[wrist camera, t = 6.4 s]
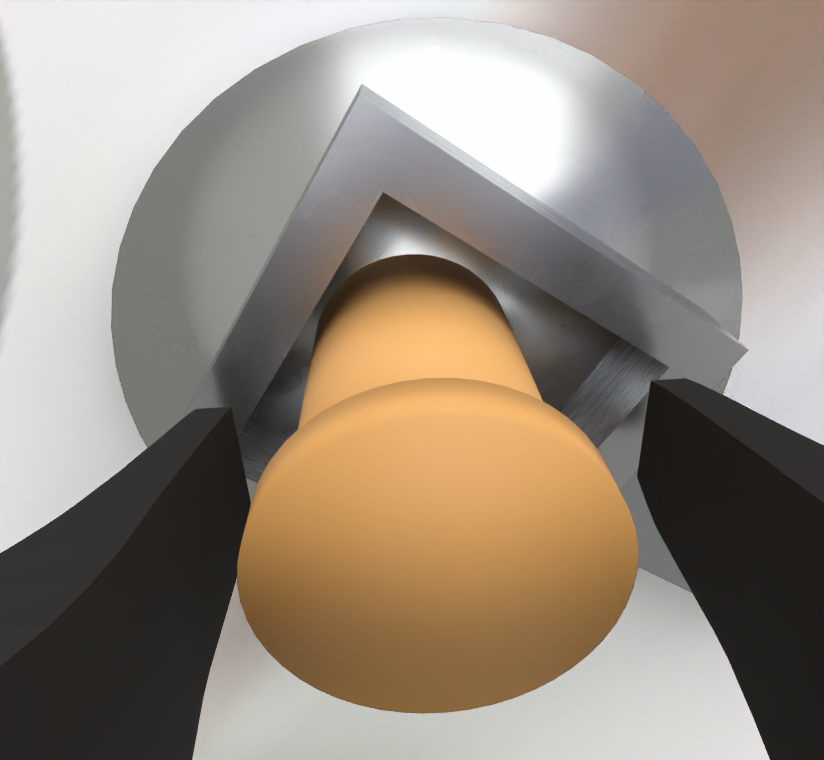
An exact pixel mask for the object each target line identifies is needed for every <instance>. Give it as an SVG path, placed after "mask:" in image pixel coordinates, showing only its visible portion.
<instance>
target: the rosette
mask: <svg viewBox="0 0 824 760" xmlns="http://www.w3.org/2000/svg"><path fill="white" fill-rule="evenodd" d="M405 254H423V255H431V256H436V257H440V258H444V259H448V260H450V261H453V262H455V263H458V264H460V265H461V266H463V267H465V268H467V269H469V270H470V271H472V272H473V273H474V274H476V275H477V276H478V277H480V278H481V279H482V280H483V281H484V282H485V283H486V284H487V285H488V286H489V288H490V289H491V290H492V292H493V293H494V294H495V296H496V297H497V299H498V301H499V303H500V305H501V306H502V309H503V311H504V313H505V315H506V318H507V320H508V322H509V325H510V327H511V329H512V331H513V334H514V336H515V338H516V341H517V343H518V345H519V347H520V350H521V352H522V354H523V357H524V359H525V361H526V363H527V366H528V368H529V370H530V372H531V375H532V377H533V379H534V382H535V384H536V386H537V388H538V391H539V393H540V395H541V398H542V400H543V402H545V403H547V404H548V405H550V406H552V407H553V408H555V409H556V410H558V411H559V412H561V413H562V414H563V415H565V416H566V417H568V418H569V419H570V420H571V421H572V422H573V423H575V424H576V425H577V426H578V427H579V428H580V429H581V430H582V431H583V432H584V433H585V434H586V435H587V436H588V438H589V439H590V440H591V442H592V443H593V444H594V446H595V447H596V448H597V449H598V451H599V453H600V454H601V456H602V458H603V460H604V462H605V464H606V466H607V468H608V469H609V471H610V473H611V475H612V477H613V479H614V481H615V483H616V485H617V487H618V489H619V491H620V493H621V495H622V497H623V498H624V500H625V502H626V504H627V506H628V508H629V510H630V513H631V516H632V519H633V522H634V526H635V529H636V535H637V542H638V567H640V568H642V569H644V570H646V571H648V572H651V573H653V574H655V575H657V576H659V577H661V578H663V579H665V580H667V581H669V582H671V583H673V584H675V585H677V586H679V587H681V588H683V589H685V590H687V591H689V592H692V591H691V589H690V588H689V586H688V584H687V582H686V580H685V579H684V577H683V575H682V573H681V572H680V570H679V568H678V566H677V564H676V563H675V561H674V559H673V557H672V555H671V554H670V552H669V550H668V548H667V546H666V545H665V543H664V541H663V539H662V537H661V535H660V533H659V532H658V530H657V528H656V526H655V524H654V521H653V519H652V516H651V514H650V511H649V509H648V506H647V504H646V501H645V498H644V495H643V493H642V490H641V487H640V484H639V481H638V479H637V473H638V466H639V459H640V452H641V445H642V438H643V431H644V423H645V416H646V409H647V402H648V395H649V388H650V381H651V380H665V379H681V378H687V379H689V380H692V381H694V382H697V383H699V384H701V385H704V386H706V387H708V388H710V389H712V390H714V391H716V392H718V393H720V394H722V395H723V393H724V390H725V387H726V385H727V382H728V379H729V376H730V374H731V371H732V367H733V366H734V365H735V364H736V363H737V362H738V361H739V360H740V359H741V357H742V356H743V355H744V354H745V353H746V352H747V351H748V349H747V348H746V347H745V346H744V345H743V344H741V343H740V342H739V341H738V339H739V334H740V322H741V309H742V284H741V269H740V258H739V253H738V249H737V244H736V239H735V235H734V230H733V226H732V221H731V218H730V216H729V213H728V211H727V208H726V205H725V203H724V200H723V198H722V195H721V193H720V190H719V187H718V185H717V182H716V181H715V179H714V177H713V176H712V174H711V172H710V170H709V169H708V167H707V165H706V163H705V162H704V160H703V158H702V157H701V155H700V153H699V151H698V150H697V148H696V146H695V145H694V144H693V143H692V141H691V140H690V139H689V138H688V136H687V135H686V134H685V133H684V132H683V130H682V129H681V128H680V127H679V125H678V124H677V123H676V122H675V120H674V119H673V118H672V117H671V116H670V114H669V113H668V112H667V111H666V110H665V109H664V108H662V107H661V106H660V105H659V104H658V103H657V102H656V101H655V100H654V99H652V98H651V97H650V96H649V95H648V94H647V93H646V92H645V91H643V90H642V89H641V88H640V87H639V86H638V85H637V84H636V83H634V82H633V81H632V80H630V79H628V78H627V77H625V76H624V75H622V74H621V73H619V72H618V71H616V70H615V69H613V68H611V67H610V66H608V65H607V64H605V63H604V62H602V61H601V60H599V59H597V58H596V57H594V56H592V55H590V54H588V53H585V52H583V51H581V50H579V49H576V48H574V47H572V46H570V45H567V44H565V43H563V42H561V41H558V40H556V39H554V38H552V37H549V36H545V35H542V34H538V33H534V32H530V31H527V30H523V29H519V28H516V27H512V26H508V25H505V24H500V23H491V22H482V21H474V20H465V19H456V18H425V19H397V20H392V21H387V22H381V23H376V24H371V25H365V26H360V27H354V28H350V29H347V30H344V31H341V32H338V33H335V34H332V35H329V36H327V37H324V38H321V39H318V40H315V41H312V42H309V43H306V44H304V45H301V46H299V47H297V48H295V49H293V50H291V51H289V52H287V53H285V54H283V55H282V56H280V57H278V58H276V59H274V60H272V61H270V62H268V63H266V64H264V65H262V66H260V67H259V68H257V69H255V70H253V71H252V72H251V73H249V74H248V75H247V76H245V77H244V78H242V79H241V80H240V81H238V82H237V83H236V84H234V85H233V86H232V87H230V88H229V89H227V90H226V91H225V92H223V93H222V94H221V95H219V96H218V97H216V98H215V99H214V100H213V101H212V102H211V103H210V104H209V105H208V106H207V107H206V108H205V109H204V110H203V111H202V112H201V113H200V114H199V115H198V116H197V117H196V118H195V119H194V120H193V121H192V122H191V123H190V124H189V125H188V126H187V127H186V128H185V129H184V130H183V131H182V132H181V133H180V135H179V136H178V137H177V139H176V140H175V141H174V143H173V144H172V145H171V147H170V148H169V149H168V151H167V152H166V153H165V155H164V156H163V157H162V159H161V160H160V161H159V163H158V164H157V166H156V167H155V168H154V170H153V172H152V174H151V176H150V177H149V179H148V181H147V183H146V185H145V187H144V189H143V191H142V193H141V195H140V196H139V198H138V200H137V202H136V204H135V206H134V208H133V211H132V214H131V217H130V219H129V222H128V225H127V228H126V231H125V234H124V237H123V240H122V243H121V246H120V249H119V254H118V260H117V265H116V271H115V277H114V282H113V288H112V320H111V329H112V338H113V346H114V354H115V362H116V368H117V371H118V375H119V379H120V382H121V386H122V390H123V393H124V397H125V401H126V403H127V406H128V408H129V410H130V413H131V415H132V417H133V420H134V422H135V424H136V427H137V429H138V431H139V434H140V436H141V437H142V439H143V441H144V442H145V444H146V446H147V447H150V446H151V445H152V444H153V443H154V442H155V441H157V440H158V439H159V438H160V437H161V436H163V435H164V434H165V433H166V432H167V431H168V430H170V429H171V428H172V427H173V426H174V425H176V424H177V423H178V422H179V421H180V420H182V419H183V418H184V417H185V416H187V415H188V414H189V413H191V412H192V411H193V410H195V409H202V408H218V407H232V412H233V417H234V422H235V427H236V432H237V437H238V441H239V446H240V451H241V456H242V461H243V466H244V471H245V476H246V481H247V486H248V491H249V496H250V501H251V502H252V498H253V495H254V493H255V490H256V487H257V485H258V482H259V480H260V477H261V476H262V474H263V472H264V470H265V469H266V467H267V465H268V463H269V462H270V460H271V459H272V457H273V456H274V455H275V454H276V452H277V451H278V450H279V449H280V447H281V446H282V445H283V444H284V442H285V441H286V440H287V439H288V438H289V437H291V436H292V435H293V434H294V433H295V432H296V431H297V430H298V426H299V421H300V415H301V410H302V405H303V399H304V394H305V389H306V383H307V378H308V373H309V367H310V362H311V357H312V351H313V346H314V341H315V335H316V330H317V326H318V321H319V318H320V316H321V313H322V310H323V308H324V306H325V305H326V303H327V301H328V299H329V298H330V296H331V295H332V294H333V292H334V291H335V290H336V288H337V287H338V286H339V285H340V284H341V283H342V282H343V281H344V280H345V279H347V278H348V277H349V276H351V275H352V274H353V273H354V272H356V271H358V270H359V269H361V268H363V267H364V266H366V265H368V264H371V263H373V262H375V261H378V260H380V259H384V258H388V257H392V256H398V255H405ZM250 506H251V504H250Z"/></svg>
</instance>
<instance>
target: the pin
mask: <svg viewBox="0 0 824 760" xmlns="http://www.w3.org/2000/svg"><path fill="white" fill-rule="evenodd" d="M637 568H638V542H637V535H636V529H635V526H634V522H633V519H632V516H631V513H630V510H629V508H628V506H627V504H626V502H625V500H624V498H623V497H622V495H621V493H620V491H619V489H618V487H617V485H616V483H615V481H614V479H613V477H612V475H611V473H610V471H609V469H608V468H607V466H606V464H605V462H604V460H603V458H602V456H601V454H600V453H599V451H598V449H597V448H596V447H595V446H594V444H593V443H592V442H591V440H590V439H589V438H588V436H587V435H586V434H585V433H584V432H583V431H582V430H581V429H580V428H579V427H578V426H577V425H576V424H575V423H573V422H572V421H571V420H570V419H569V418H568V417H566V416H565V415H563V414H562V413H561V412H559V411H558V410H556V409H555V408H553V407H552V406H550V405H548V404H547V403H545V402H543V400H542V398H541V395H540V393H539V391H538V388H537V386H536V384H535V382H534V379H533V377H532V375H531V372H530V370H529V368H528V366H527V363H526V361H525V359H524V357H523V354H522V352H521V350H520V347H519V345H518V343H517V341H516V338H515V336H514V334H513V331H512V329H511V327H510V325H509V322H508V320H507V318H506V315H505V313H504V311H503V309H502V306H501V305H500V303H499V301H498V299H497V297H496V296H495V294H494V293H493V292H492V290H491V289H490V288H489V286H488V285H487V284H486V283H485V282H484V281H483V280H482V279H481V278H480V277H478V276H477V275H476V274H474V273H473V272H472V271H470V270H469V269H467V268H465V267H463V266H461V265H460V264H458V263H455V262H453V261H450V260H448V259H444V258H440V257H436V256H431V255H423V254H405V255H398V256H392V257H388V258H384V259H380V260H378V261H375V262H373V263H371V264H368V265H366V266H364V267H363V268H361V269H359V270H358V271H356V272H354V273H353V274H352V275H351V276H349V277H348V278H347V279H345V280H344V281H343V282H342V283H341V284H340V285H339V286H338V287H337V288H336V290H335V291H334V292H333V294H332V295H331V296H330V298H329V299H328V301H327V303H326V305H325V306H324V308H323V310H322V313H321V316H320V318H319V321H318V326H317V330H316V335H315V341H314V346H313V351H312V357H311V362H310V367H309V373H308V378H307V383H306V389H305V394H304V399H303V405H302V410H301V415H300V421H299V426H298V430H297V431H296V432H295V433H294V434H293V435H292V436H291V437H289V438H288V439H287V440H286V441H285V442H284V444H283V445H282V446H281V447H280V449H279V450H278V451H277V452H276V454H275V455H274V456H273V457H272V459H271V460H270V462H269V463H268V465H267V467H266V469H265V470H264V472H263V474H262V476H261V477H260V480H259V482H258V485H257V487H256V490H255V493H254V495H253V498H252V502H251V506H250V510H249V514H248V518H247V522H246V526H245V530H244V534H243V537H242V541H241V546H240V551H239V557H238V562H237V584H238V590H239V596H240V602H241V605H242V607H243V610H244V613H245V616H246V619H247V621H248V623H249V624H250V626H251V628H252V630H253V632H254V634H255V635H256V637H257V638H258V640H259V641H260V642H261V644H262V645H263V646H264V647H265V649H266V650H267V651H268V652H269V653H270V654H271V655H272V656H273V657H274V658H275V659H276V660H277V661H278V662H279V663H280V664H281V665H282V666H283V667H284V668H286V669H287V670H288V671H290V672H291V673H292V674H294V675H295V676H296V677H298V678H299V679H301V680H302V681H304V682H306V683H308V684H309V685H311V686H313V687H314V688H316V689H318V690H320V691H323V692H325V693H327V694H329V695H332V696H334V697H336V698H339V699H342V700H345V701H348V702H351V703H354V704H357V705H362V706H366V707H371V708H375V709H380V710H387V711H395V712H405V713H444V712H454V711H462V710H470V709H474V708H479V707H484V706H488V705H493V704H496V703H499V702H503V701H506V700H509V699H512V698H515V697H518V696H520V695H523V694H525V693H528V692H530V691H532V690H535V689H537V688H539V687H541V686H543V685H545V684H546V683H548V682H550V681H552V680H554V679H556V678H557V677H559V676H560V675H562V674H563V673H565V672H567V671H568V670H570V669H571V668H573V667H574V666H575V665H576V664H578V663H579V662H580V661H581V660H583V659H584V658H585V657H586V656H588V655H589V654H590V653H591V652H592V651H593V650H594V649H595V648H596V647H597V646H598V645H599V644H600V643H601V642H602V641H603V640H604V638H605V637H606V636H607V634H608V633H609V632H610V631H611V629H612V628H613V627H614V625H615V624H616V623H617V621H618V619H619V617H620V616H621V614H622V612H623V610H624V609H625V607H626V605H627V602H628V600H629V597H630V595H631V592H632V590H633V587H634V582H635V578H636V573H637Z"/></svg>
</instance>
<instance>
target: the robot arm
mask: <svg viewBox="0 0 824 760" xmlns="http://www.w3.org/2000/svg"><path fill="white" fill-rule="evenodd" d="M637 479H638V481H639V484H640V487H641V490H642V493H643V495H644V498H645V501H646V504H647V506H648V509H649V511H650V514H651V516H652V519H653V521H654V524H655V526H656V528H657V530H658V532H659V533H660V535H661V537H662V539H663V541H664V543H665V545H666V546H667V548H668V550H669V552H670V554H671V555H672V557H673V559H674V561H675V563H676V564H677V566H678V568H679V570H680V572H681V573H682V575H683V577H684V579H685V580H686V582H687V584H688V586H689V588H690V589H691V591H692V593H693V595H694V596H695V598H696V600H697V602H698V604H699V605H700V607H701V609H702V611H703V612H704V614H705V616H706V618H707V620H708V621H709V623H710V625H711V627H712V628H713V630H714V632H715V634H716V636H717V638H718V640H719V642H720V644H721V646H722V648H723V650H724V652H725V654H726V656H727V657H728V660H729V662H730V664H731V666H732V669H733V671H734V673H735V676H736V678H737V680H738V683H739V685H740V687H741V690H742V692H743V694H744V697H745V699H746V701H747V704H748V706H749V708H750V711H751V713H752V715H753V718H754V720H755V723H756V725H757V728H758V730H759V733H760V735H761V738H762V740H763V743H764V745H765V748H766V751H767V753H768V756H769V758H770V760H824V445H822V444H819V443H817V442H815V441H813V440H811V439H809V438H807V437H805V436H803V435H801V434H799V433H796V432H794V431H792V430H790V429H788V428H786V427H784V426H782V425H780V424H778V423H776V422H775V421H773V420H771V419H769V418H767V417H765V416H763V415H761V414H759V413H757V412H755V411H753V410H751V409H749V408H747V407H745V406H743V405H742V404H740V403H738V402H736V401H734V400H732V399H730V398H728V397H726V396H724V395H722V394H720V393H718V392H716V391H714V390H712V389H710V388H708V387H706V386H704V385H701V384H699V383H697V382H694V381H692V380H689V379H687V378H681V379H665V380H651V381H650V388H649V395H648V402H647V409H646V416H645V423H644V431H643V438H642V445H641V452H640V459H639V466H638V473H637ZM250 504H251V501H250V496H249V491H248V486H247V481H246V476H245V471H244V466H243V461H242V456H241V451H240V446H239V441H238V437H237V432H236V427H235V422H234V417H233V412H232V407H218V408H202V409H195V410H193V411H192V412H191V413H189V414H188V415H187V416H185V417H184V418H183V419H182V420H180V421H179V422H178V423H177V424H176V425H174V426H173V427H172V428H171V429H170V430H168V431H167V432H166V433H165V434H164V435H163V436H161V437H160V438H159V439H158V440H157V441H155V442H154V443H153V444H152V445H151V446H150V447H148V448H147V449H146V450H145V451H144V452H142V453H141V454H140V455H139V456H138V457H136V458H135V459H134V460H133V461H132V462H130V463H129V464H128V465H127V466H126V467H124V468H123V469H122V470H121V471H119V472H118V473H117V474H115V475H114V476H113V477H112V478H110V479H109V480H108V481H106V482H105V483H104V484H102V485H101V486H100V487H98V488H97V489H96V490H94V491H93V492H92V493H90V494H89V495H88V496H86V497H85V498H84V499H82V500H81V501H80V502H79V503H77V504H76V505H75V506H73V507H72V508H70V509H69V510H68V511H66V512H65V513H63V514H62V515H60V516H59V517H57V518H56V519H54V520H53V521H51V522H50V523H48V524H47V525H45V526H44V527H42V528H41V529H39V530H38V531H36V532H34V533H33V534H31V535H30V536H28V537H26V538H25V539H23V540H22V541H20V542H18V543H17V544H15V545H14V546H12V547H10V548H9V549H7V550H5V551H3V552H2V553H0V760H192V757H193V752H194V746H195V740H196V735H197V729H198V724H199V718H200V713H201V707H202V701H203V696H204V692H205V688H206V684H207V680H208V676H209V671H210V668H211V664H212V661H213V657H214V654H215V650H216V647H217V644H218V640H219V637H220V633H221V630H222V627H223V623H224V620H225V616H226V613H227V609H228V606H229V603H230V599H231V596H232V592H233V589H234V585H235V582H236V578H237V562H238V557H239V551H240V546H241V541H242V537H243V534H244V530H245V526H246V522H247V518H248V514H249V510H250Z"/></svg>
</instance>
